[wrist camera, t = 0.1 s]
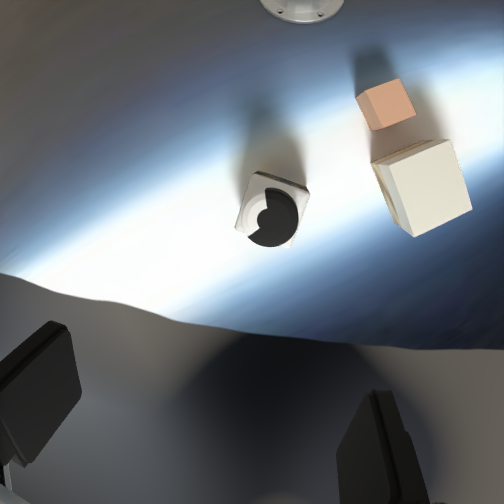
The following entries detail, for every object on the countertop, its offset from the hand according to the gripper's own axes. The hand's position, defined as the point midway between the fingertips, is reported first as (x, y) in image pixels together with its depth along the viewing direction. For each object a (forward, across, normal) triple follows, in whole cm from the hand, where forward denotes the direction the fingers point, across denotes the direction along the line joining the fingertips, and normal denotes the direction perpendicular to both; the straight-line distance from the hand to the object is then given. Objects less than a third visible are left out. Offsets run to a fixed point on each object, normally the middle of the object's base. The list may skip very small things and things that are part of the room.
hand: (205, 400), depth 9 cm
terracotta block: (+37, -12, -16) cm, 42 cm away
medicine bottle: (+37, 0, 0) cm, 37 cm away
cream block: (+33, -19, -7) cm, 39 cm away
